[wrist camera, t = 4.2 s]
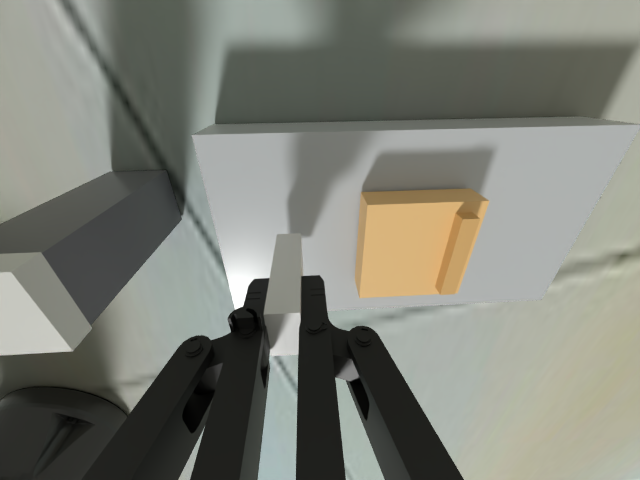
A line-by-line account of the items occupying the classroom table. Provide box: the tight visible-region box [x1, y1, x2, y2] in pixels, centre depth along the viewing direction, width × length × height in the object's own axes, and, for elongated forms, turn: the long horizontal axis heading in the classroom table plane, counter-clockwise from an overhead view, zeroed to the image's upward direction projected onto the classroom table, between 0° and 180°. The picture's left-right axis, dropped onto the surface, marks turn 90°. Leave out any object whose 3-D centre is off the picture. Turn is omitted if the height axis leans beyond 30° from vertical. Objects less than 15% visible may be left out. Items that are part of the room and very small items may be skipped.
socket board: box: [192, 116, 640, 311], centre depth 20 cm, size 26×14×4 cm, turn 91°
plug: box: [0, 170, 182, 355], centre depth 15 cm, size 4×4×12 cm
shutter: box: [355, 188, 489, 298], centre depth 17 cm, size 7×7×3 cm
